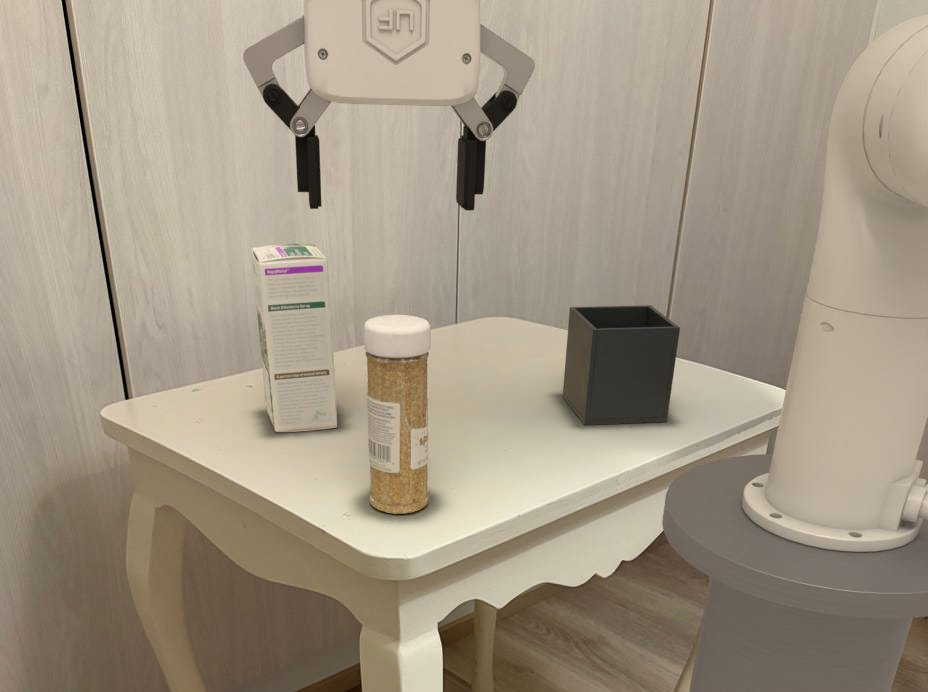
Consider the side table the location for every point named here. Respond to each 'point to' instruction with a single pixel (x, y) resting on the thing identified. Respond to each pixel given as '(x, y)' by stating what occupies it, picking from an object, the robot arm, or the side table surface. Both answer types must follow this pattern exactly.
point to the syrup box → (295, 336)
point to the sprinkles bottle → (397, 411)
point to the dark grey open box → (619, 364)
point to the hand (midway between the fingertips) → (390, 206)
